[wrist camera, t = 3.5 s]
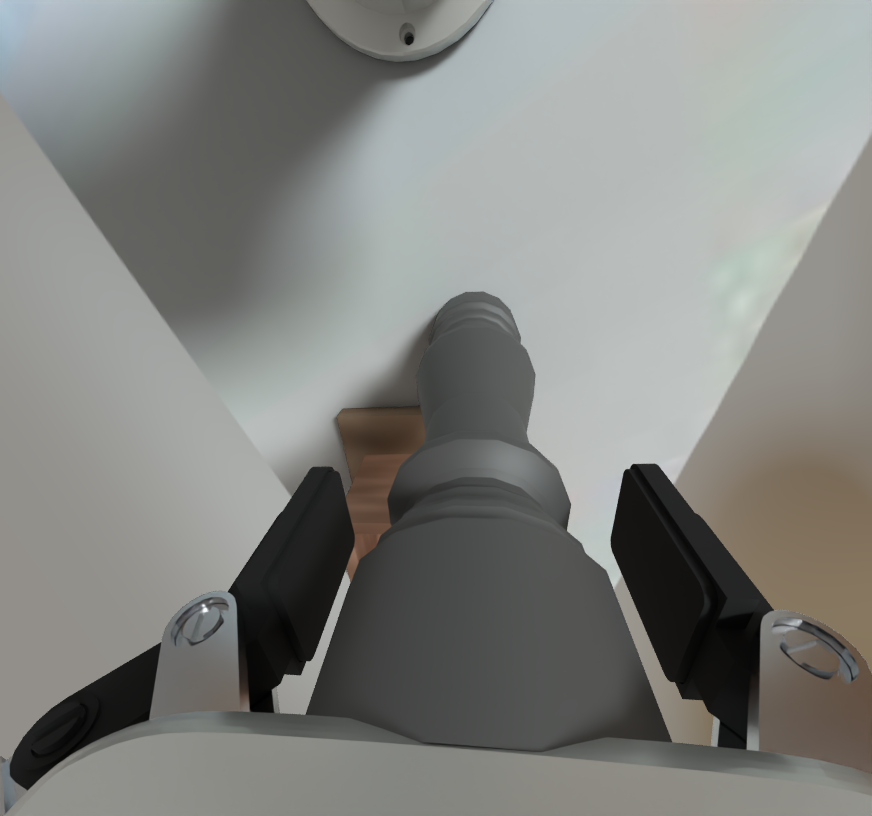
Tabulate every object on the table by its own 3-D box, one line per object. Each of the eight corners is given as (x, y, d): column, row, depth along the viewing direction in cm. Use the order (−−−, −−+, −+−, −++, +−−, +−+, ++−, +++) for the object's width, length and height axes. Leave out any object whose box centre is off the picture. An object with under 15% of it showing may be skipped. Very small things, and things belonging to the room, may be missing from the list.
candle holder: (443, 378, 29) (348, 889, 7) (424, 301, 26) (164, 730, 4) (521, 363, 28) (713, 921, 6) (509, 281, 25) (784, 729, 3)
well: (342, 408, 31) (294, 477, 23) (506, 403, 29) (520, 476, 21) (374, 554, 39) (348, 645, 31) (504, 557, 38) (514, 654, 29)
